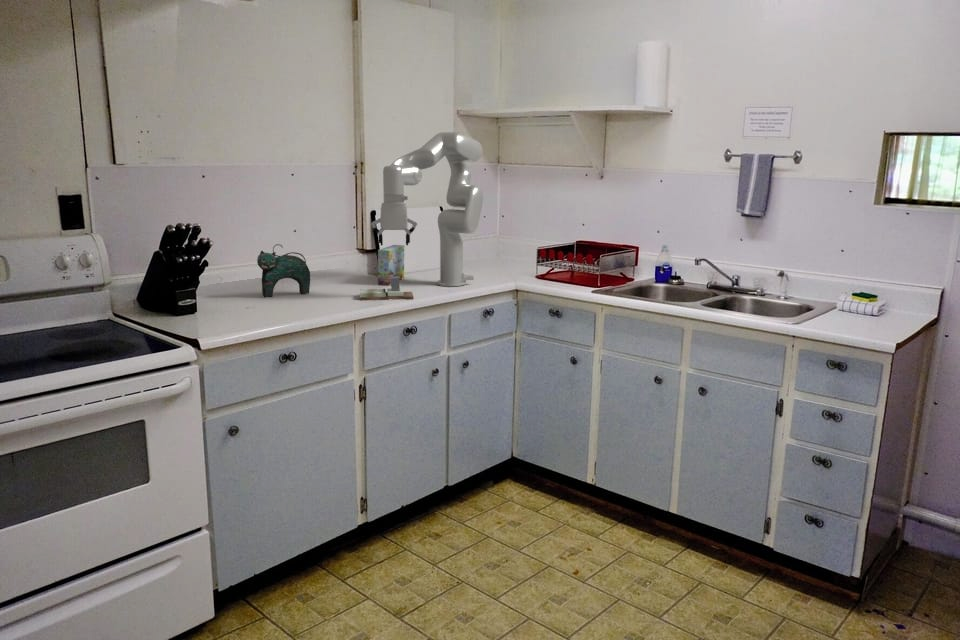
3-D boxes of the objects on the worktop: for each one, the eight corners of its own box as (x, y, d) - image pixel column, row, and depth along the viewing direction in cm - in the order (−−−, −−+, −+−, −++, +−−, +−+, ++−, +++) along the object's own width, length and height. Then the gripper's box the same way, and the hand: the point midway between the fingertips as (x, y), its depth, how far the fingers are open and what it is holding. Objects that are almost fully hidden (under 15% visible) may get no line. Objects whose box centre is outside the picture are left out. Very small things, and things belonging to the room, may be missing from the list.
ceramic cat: (261, 298, 275) (258, 245, 270) (256, 296, 280) (253, 244, 276) (312, 294, 285) (310, 243, 280) (307, 291, 290) (305, 241, 286)
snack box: (390, 285, 306) (389, 250, 303) (377, 285, 307) (376, 249, 304) (405, 278, 326) (404, 244, 323) (393, 277, 327) (392, 244, 324)
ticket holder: (411, 294, 287) (411, 287, 286) (413, 299, 276) (413, 292, 276) (360, 295, 284) (360, 288, 284) (360, 300, 274) (359, 293, 273)
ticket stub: (402, 291, 285) (402, 275, 284) (403, 295, 277) (403, 279, 275) (387, 292, 284) (387, 275, 283) (387, 296, 276) (387, 279, 274)
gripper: (416, 199, 278) (416, 243, 281) (370, 198, 275) (371, 244, 279) (417, 200, 270) (417, 246, 274) (370, 199, 268) (371, 246, 272)
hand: (394, 245), depth 276 cm, fingers open, 9 cm apart
